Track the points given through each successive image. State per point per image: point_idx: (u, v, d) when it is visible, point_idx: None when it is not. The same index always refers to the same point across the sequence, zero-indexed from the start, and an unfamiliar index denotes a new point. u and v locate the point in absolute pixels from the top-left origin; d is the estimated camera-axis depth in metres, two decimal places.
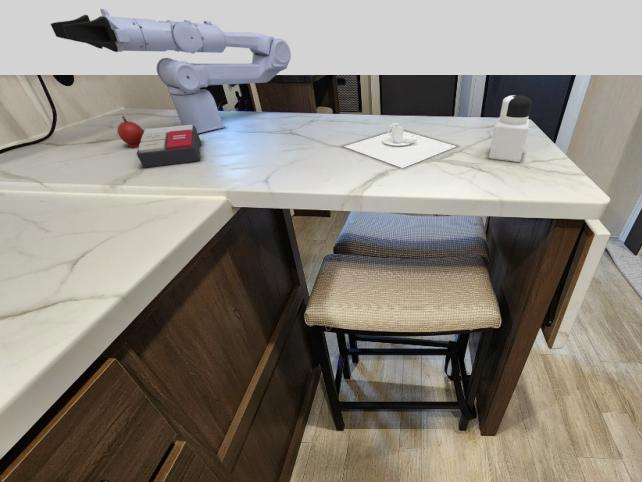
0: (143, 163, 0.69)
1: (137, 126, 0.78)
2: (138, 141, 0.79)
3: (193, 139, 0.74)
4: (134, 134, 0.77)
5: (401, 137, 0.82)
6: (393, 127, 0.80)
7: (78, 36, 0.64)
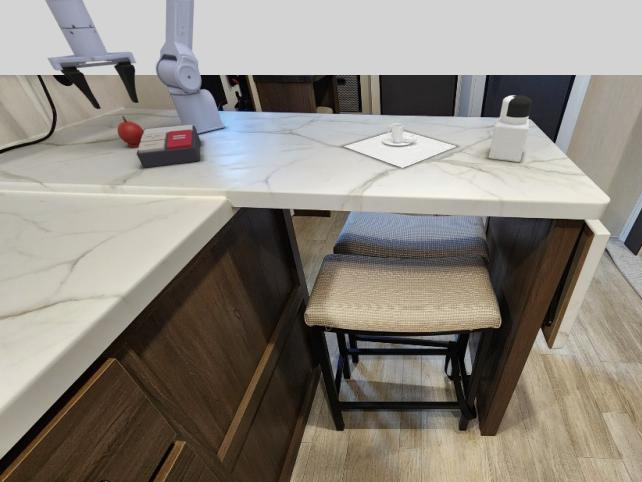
0: (143, 163, 0.69)
1: (137, 126, 0.78)
2: (138, 141, 0.79)
3: (193, 139, 0.74)
4: (134, 134, 0.77)
5: (401, 137, 0.82)
6: (393, 127, 0.80)
7: None
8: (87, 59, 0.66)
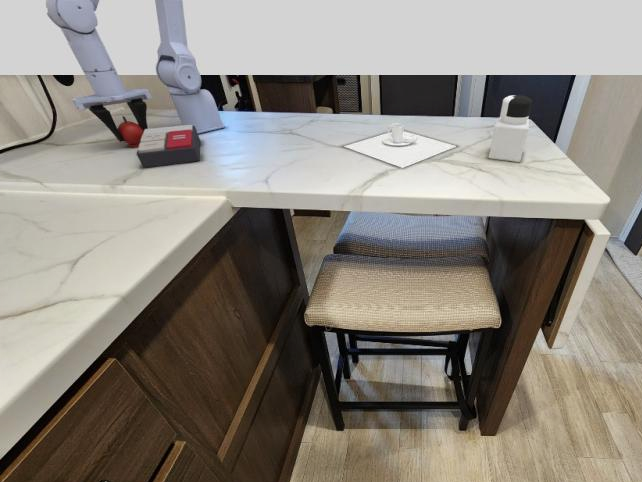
0: (143, 163, 0.69)
1: (137, 126, 0.78)
2: (138, 141, 0.79)
3: (193, 139, 0.74)
4: (134, 134, 0.77)
5: (401, 137, 0.82)
6: (393, 127, 0.80)
7: None
8: (108, 99, 0.71)
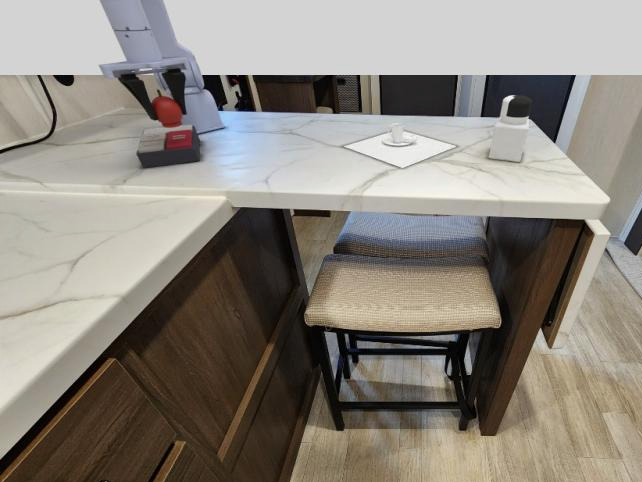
0: (143, 163, 0.69)
1: (174, 102, 0.65)
2: (174, 120, 0.66)
3: (193, 139, 0.74)
4: (171, 112, 0.64)
5: (401, 137, 0.82)
6: (393, 127, 0.80)
7: None
8: (142, 66, 0.58)
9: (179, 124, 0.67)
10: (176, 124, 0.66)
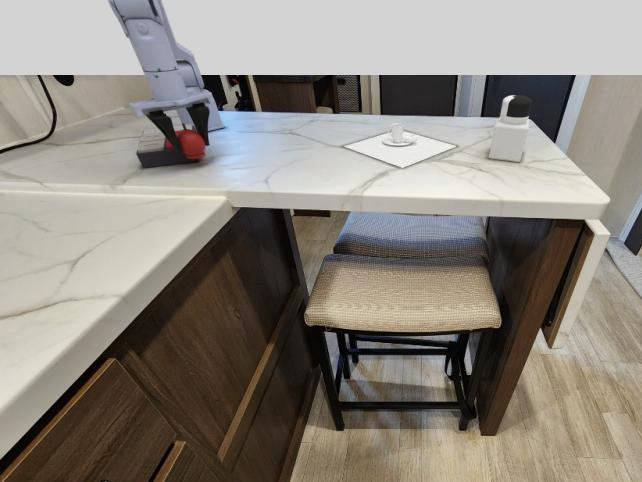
0: (143, 163, 0.69)
1: (198, 135, 0.67)
2: (198, 152, 0.68)
3: None
4: (195, 144, 0.66)
5: (401, 137, 0.82)
6: (393, 127, 0.80)
7: None
8: (170, 103, 0.60)
9: (202, 155, 0.69)
10: (199, 155, 0.69)
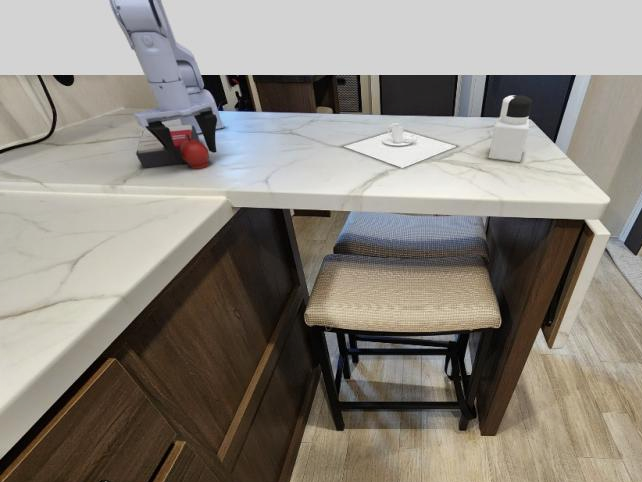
0: (142, 163, 0.69)
1: (202, 145, 0.68)
2: (202, 162, 0.69)
3: (192, 139, 0.74)
4: (199, 154, 0.68)
5: (401, 137, 0.82)
6: (393, 127, 0.80)
7: None
8: (174, 113, 0.62)
9: (206, 165, 0.70)
10: (203, 165, 0.70)
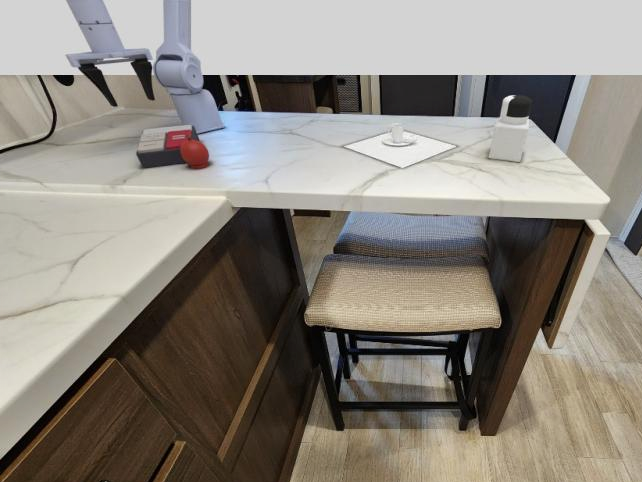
0: (142, 163, 0.69)
1: (202, 145, 0.68)
2: (202, 162, 0.69)
3: (192, 139, 0.74)
4: (199, 154, 0.68)
5: (401, 137, 0.82)
6: (393, 127, 0.80)
7: None
8: (105, 56, 0.65)
9: (206, 165, 0.70)
10: (203, 165, 0.70)
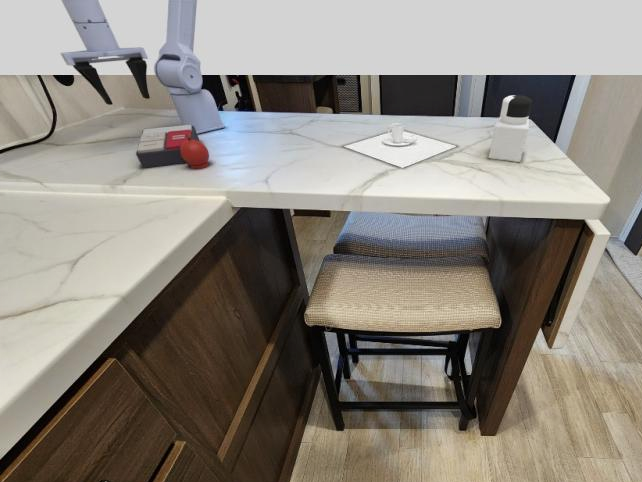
0: (142, 163, 0.69)
1: (202, 145, 0.68)
2: (202, 162, 0.69)
3: (192, 139, 0.74)
4: (199, 154, 0.68)
5: (401, 137, 0.82)
6: (393, 127, 0.80)
7: None
8: (100, 54, 0.66)
9: (206, 165, 0.70)
10: (203, 165, 0.70)
